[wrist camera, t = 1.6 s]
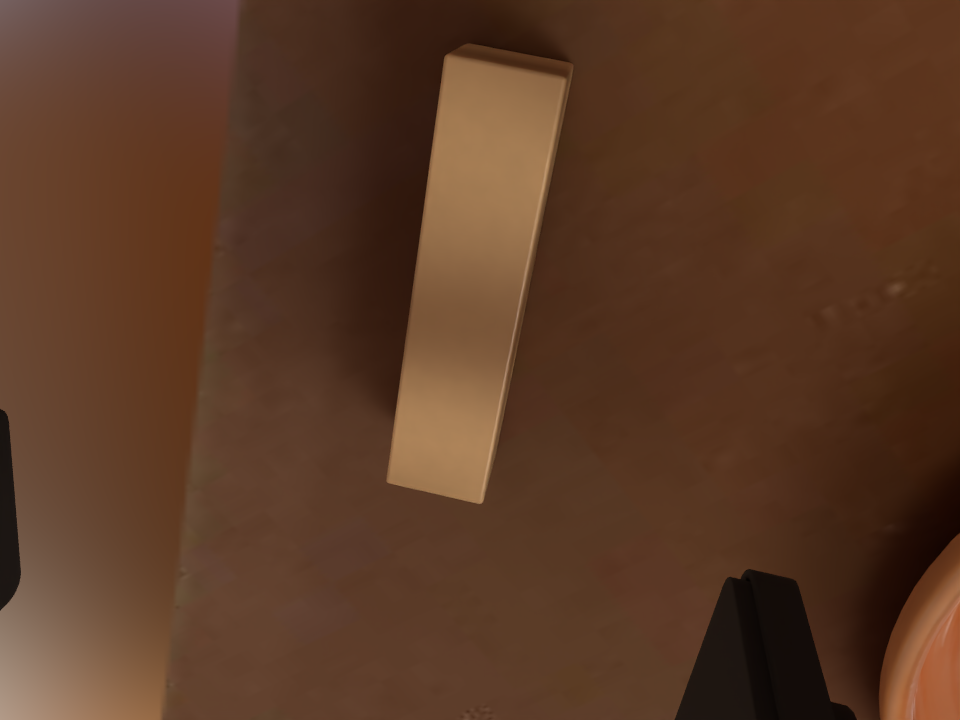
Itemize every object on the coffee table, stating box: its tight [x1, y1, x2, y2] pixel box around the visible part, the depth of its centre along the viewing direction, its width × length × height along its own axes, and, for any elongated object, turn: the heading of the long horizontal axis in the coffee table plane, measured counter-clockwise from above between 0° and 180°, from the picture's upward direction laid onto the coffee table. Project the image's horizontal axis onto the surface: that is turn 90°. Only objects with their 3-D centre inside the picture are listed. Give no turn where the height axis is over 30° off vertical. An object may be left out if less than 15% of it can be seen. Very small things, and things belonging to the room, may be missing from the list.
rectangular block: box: [387, 43, 573, 504], centre depth 20 cm, size 10×2×2 cm, turn 171°
